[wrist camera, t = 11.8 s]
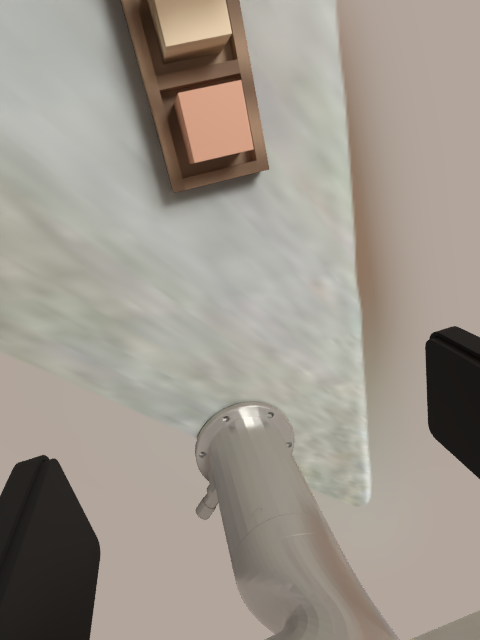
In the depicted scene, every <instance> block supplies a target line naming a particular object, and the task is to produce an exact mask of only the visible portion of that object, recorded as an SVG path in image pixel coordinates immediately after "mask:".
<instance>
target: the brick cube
mask: <svg viewBox="0 0 480 640" xmlns="http://www.w3.org/2000/svg"><path fill="white" fill-rule="evenodd" d="M174 107H175V111H176V115H177V119H178V123H179V127H180V131H181V135H182V139H183V143H184V147H185V151H186V155H187V160H188V164H193V163H197V162H201V161H206V160H210V159H214V158H219V157H223V156H227V155H232V154H236V153H240V152H245V151H249V150H253V149H254V147H253V142H252V136H251V131H250V125H249V120H248V114H247V109H246V103H245V98H244V92H243V87H242V81H241V80H238V81H233V82H228V83H224V84H219V85H214V86H209V87H204V88H199V89H194V90H190V91H185V92H180V93H178V94H177V97H176V100H175V102H174Z"/></svg>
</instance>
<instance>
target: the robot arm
mask: <svg viewBox="0 0 480 640" xmlns="http://www.w3.org/2000/svg"><path fill="white" fill-rule="evenodd" d="M425 350H426V376H427V402H428V403H427V405H428V425H429V429H430V432H431V434H433V436H434V438H435V439H436V440H437V441H439V442H440V443H441V444H442V445H443V446H444V447H445V448H446V449H447V450H448V451H450V452H451V453H452V454H453V455H454V456H455V457H456V458H457V459H458V460H459V461H461V462H462V463H463V464H464V465H465V466H466V467H467V468H468V469H469V470H470V471H472V472H473V473H474V474H475V475H476V476H477V477H478V478H479V479H480V337H478V336H476V335H474V334H471V333H469V332H467V331H465V330H463V329H461V328H459V327H456V326H454V327H450V328H446V329H443V330H440V331H437V332H434V333H432V334H431V336H430V339H429V340H428V341H427V342H426V347H425ZM293 448H294V432H293V429H292V426H291V425H290V423H289V421H288V419H287V418H286V417H285V415H284V414H283V413H282V412H281V411H279V410H278V409H277V408H275V407H273V406H271V405H268V404H264V403H260V402H244V403H239V404H235V405H232V406H230V407H227V408H225V409H223V410H222V411H220V412H218V413H217V414H215V415H214V416H213V417H212V418H211V419H210V420H209V421H208V422H207V423H206V424H205V426H204V427H203V428H202V430H201V432H200V434H199V436H198V438H197V442H196V448H195V449H196V450H195V454H196V461H197V465H198V467H199V470H200V471H201V473H202V475H203V476H204V477H205V478H206V479H207V480H208V481H209V482H210V485H209V486H208V488H207V495H206V496H205V497H204V498H203V499H202V501H201V502H200V504H199V505H198V507H197V508H196V513H197V515H198V516H199V517H200V518H202V519H204V520H206V519H208V518H209V517H210V515H211V514H212V512H213V511H214V510H215V508H216V505H217V504H218V502H219V506H220V511H221V515H222V520H223V525H224V530H225V535H226V539H227V544H228V548H229V553H230V557H231V562H232V567H233V571H234V576H235V580H236V584H237V587H238V590H239V592H240V595H241V597H242V599H243V601H244V603H245V604H246V606H247V607H248V609H249V610H250V611H251V613H252V614H253V615H254V616H255V617H256V618H257V619H258V620H259V621H260V622H261V623H262V624H263V625H265V626H266V627H267V628H268V629H269V630H271V631H272V632H273V633H274V634H275V635H274V636H271V637H269V638H267V639H265V640H399V638H398V637H397V635H396V634H395V633H394V631H393V630H392V628H391V627H390V626H389V624H388V623H387V622H386V620H385V619H384V617H383V616H382V615H381V613H380V612H379V610H378V609H377V607H376V606H375V605H374V603H373V602H372V600H371V599H370V597H369V596H368V594H367V593H366V591H365V590H364V588H363V587H362V585H361V583H360V582H359V580H358V578H357V577H356V575H355V573H354V572H353V570H352V568H351V567H350V565H349V563H348V561H347V559H346V557H345V555H344V554H343V552H342V550H341V548H340V546H339V544H338V542H337V540H336V539H335V537H334V535H333V533H332V531H331V529H330V527H329V526H328V523H327V521H326V520H325V518H324V516H323V514H322V512H321V510H320V508H319V506H318V504H317V502H316V500H315V498H314V496H313V494H312V493H311V490H310V488H309V487H308V485H307V483H306V481H305V479H304V477H303V475H302V473H301V471H300V469H299V467H298V465H297V463H296V461H295V459H294V457H293V456H292V452H293ZM99 561H100V546H99V542H98V539H97V537H96V535H95V533H94V531H93V529H92V527H91V525H90V523H89V521H88V519H87V517H86V515H85V513H84V511H83V509H82V507H81V505H80V503H79V501H78V499H77V497H76V495H75V493H74V492H73V490H72V487H71V486H70V484H69V482H68V480H67V478H66V476H65V474H64V472H63V470H62V468H61V466H60V464H59V462H58V461H57V460H56V459H51V460H49V458H48V457H47V456H45V455H42V456H38V457H35V458H32V459H29V460H26V461H22V462H19V463H18V464H16V465H15V467H14V468H13V470H12V472H11V474H10V476H9V479H8V481H7V483H6V485H5V487H4V489H3V491H2V494H1V496H0V640H89V638H90V632H91V624H92V616H93V608H94V600H95V593H96V585H97V577H98V569H99ZM410 640H480V611H477V612H475V613H473V614H470V615H468V616H466V617H463V618H461V619H458V620H456V621H454V622H451V623H449V624H446V625H444V626H442V627H439V628H437V629H434V630H432V631H430V632H427V633H425V634H422V635H420V636H418V637H415V638H413V639H410Z"/></svg>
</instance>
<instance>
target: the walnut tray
mask: <svg viewBox="0 0 480 640" xmlns="http://www.w3.org/2000/svg"><path fill="white" fill-rule="evenodd" d="M121 4H122V7H123V11H124V15H125V18H126V22H127V25H128V29H129V33H130V36H131V40H132V44H133V47H134V51H135V55H136V58H137V62H138V65H139V69H140V73H141V76H142V80H143V84H144V87H145V91H146V95H147V98H148V102H149V106H150V109H151V113H152V116H153V120H154V124H155V127H156V131H157V135H158V138H159V142H160V146H161V149H162V153H163V156H164V160H165V164H166V167H167V171H168V175H169V178H170V182H171V186H172V189H173V192H179V191H183V190H187V189H192V188H196V187H200V186H204V185H208V184H212V183H216V182H220V181H224V180H228V179H232V178H236V177H240V176H244V175H248V174H252V173H256V172H260V171H264V170H268V169H269V165H268V160H267V154H266V149H265V143H264V137H263V132H262V126H261V120H260V115H259V109H258V104H257V98H256V92H255V87H254V81H253V75H252V70H251V64H250V58H249V53H248V47H247V42H246V36H245V30H244V25H243V19H242V13H241V8H240V2H239V0H121ZM238 80H241V81H242V87H243V92H244V98H245V103H246V109H247V114H248V120H249V125H250V131H251V136H252V142H253V147H254V149H253V150H249V151H245V152H240V153H236V154H232V155H227V156H223V157H219V158H214V159H210V160H206V161H201V162H197V163H193V164H188V160H187V155H186V151H185V147H184V143H183V139H182V135H181V131H180V127H179V123H178V119H177V115H176V111H175V107H174V102H175V100H176V97H177V94H178V93H180V92H185V91H190V90H194V89H199V88H204V87H209V86H214V85H219V84H224V83H228V82H233V81H238Z"/></svg>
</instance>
